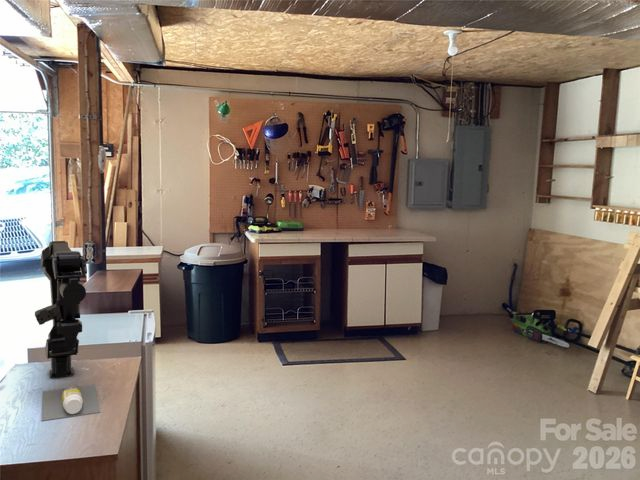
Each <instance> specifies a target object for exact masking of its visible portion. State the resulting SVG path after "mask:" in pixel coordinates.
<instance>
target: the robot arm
mask: <svg viewBox="0 0 640 480" xmlns="http://www.w3.org/2000/svg"><path fill="white" fill-rule="evenodd" d="M40 266H41V268H42V269H43V273H44V275H45V277H46V278H47V279H48V280H49V287H50V301H51V305H47V306H46V307H43V308H40V309H37V310H35V311H34V316H35V318H36V319H35V320H36V321H37V323H38V325H39V326H41V325H44V324H45V323H47V322H50V321H52V327H51V329H50V331H49V333H48V335H47V337H48V338H47V339H46V342H45V346H44V349H45V350H44V351H45V353H44V354H45V357H46V359H48V360H49V359H50V365H51V366H50V370H49V378H50V379H55V378H65V377H71V376H74V369H73V367H72V356H77V355H78V354H79V344H80V340H79V339H78V335H79V333H82V332H83V322H82V321H81V320H80V319H81V308H80V307H81V302H82V301H83V300H84V299H85V297H86V295H87V289H86V287H85V286H84V285H83V284H82V283H81V278H82V279H83V278H86V277H87V276H86V275H87V273H88V269H87V268H88V267H87V264H86V259H85V257H84V256H83V255H81V252H80V251H76V250H71V248H70V246H69V243H68V241H65V240H52V241H49V243H48V246H47V247H45V248H44V249H43V250H41V255H40Z"/></svg>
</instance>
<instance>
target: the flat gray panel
mask: <svg viewBox="0 0 640 480" xmlns="http://www.w3.org/2000/svg"><path fill="white" fill-rule="evenodd" d="M75 387H76V388H78V389H79V390H80V392H81V396H82V400H83V403H82V408H81V410H80V411H79V412H77V413H75V414H70V413H68V412H67V411H66V410H65V409H64V407H63V401H62V394H63V392H64V390H66V389H67V388H68V387H66V388H57V389H49V390H43V391H42V399H41V418H40V421H41V422H45V421H46V422H47V421H53V420H59V419H60V420H61V419H65V418H66V419H67V418H73V417H80V416H85V415H87V416H88V415H92V414H93V415H94V414H100V413H101V408H100V401H99V398H98V391H97V387H96V384H87V385H80V386H75Z"/></svg>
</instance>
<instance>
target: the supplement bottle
mask: <svg viewBox="0 0 640 480" xmlns="http://www.w3.org/2000/svg"><path fill="white" fill-rule="evenodd" d="M76 387H77V386H70V387H66V388H67V389H66V390H64V392H63V394H62V401H63V407H64V409H65V410H66V411H67V412H68V413H70V414H75V413H77V412H79V411H80V410H81V408H82V403H83V400H82V396H81V392H80V390H79V389H78V388H76Z"/></svg>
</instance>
